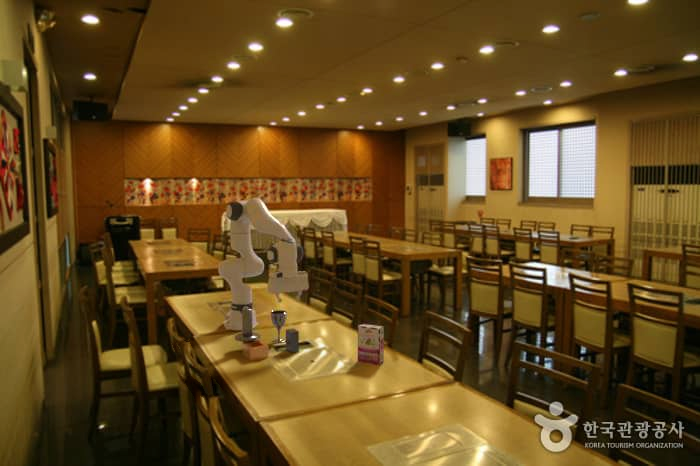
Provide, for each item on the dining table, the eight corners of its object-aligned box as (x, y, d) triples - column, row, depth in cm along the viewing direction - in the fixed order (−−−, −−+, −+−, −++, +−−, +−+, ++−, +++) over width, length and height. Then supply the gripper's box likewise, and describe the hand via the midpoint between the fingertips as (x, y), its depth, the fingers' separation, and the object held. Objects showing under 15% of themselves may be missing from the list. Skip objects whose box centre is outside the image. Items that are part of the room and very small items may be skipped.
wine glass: (288, 338, 277) (288, 310, 275) (284, 343, 269) (284, 314, 267) (273, 338, 277) (272, 310, 276) (269, 342, 270) (269, 313, 268)
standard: (231, 348, 260) (230, 308, 258) (254, 344, 266) (254, 305, 264) (247, 361, 242) (246, 317, 240) (271, 356, 248) (271, 314, 246)
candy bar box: (384, 361, 242) (384, 326, 241) (379, 364, 238) (379, 328, 236) (362, 357, 247) (362, 323, 246) (357, 361, 243) (357, 325, 241)
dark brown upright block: (285, 349, 259) (285, 329, 258) (293, 348, 261) (293, 328, 260) (291, 353, 254) (291, 332, 253) (298, 351, 256) (298, 331, 255)
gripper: (304, 269, 263) (305, 297, 264) (265, 273, 253) (266, 302, 254) (310, 271, 258) (311, 299, 259) (271, 275, 248) (271, 304, 248)
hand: (288, 301), depth 256 cm, fingers open, 8 cm apart
